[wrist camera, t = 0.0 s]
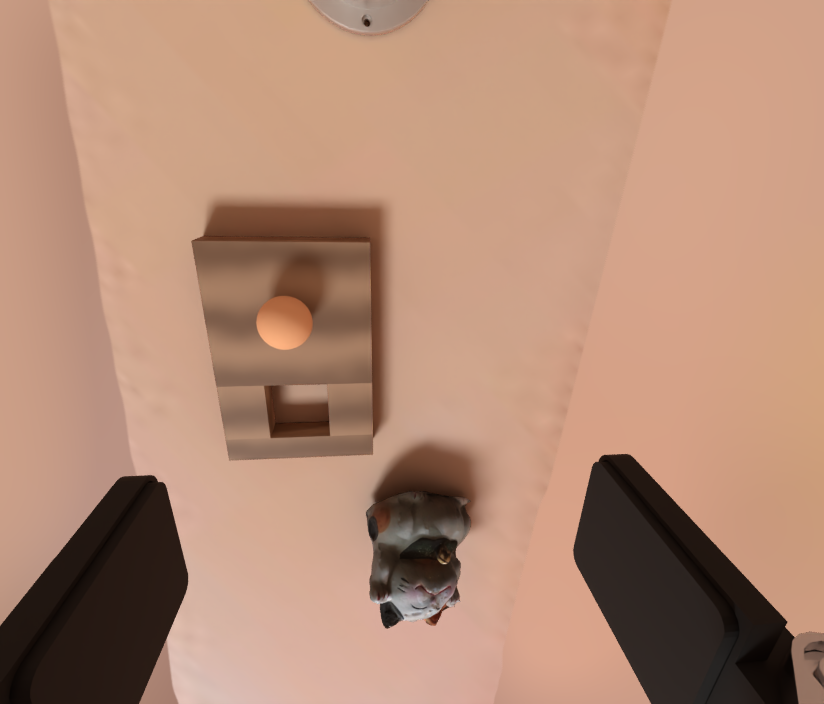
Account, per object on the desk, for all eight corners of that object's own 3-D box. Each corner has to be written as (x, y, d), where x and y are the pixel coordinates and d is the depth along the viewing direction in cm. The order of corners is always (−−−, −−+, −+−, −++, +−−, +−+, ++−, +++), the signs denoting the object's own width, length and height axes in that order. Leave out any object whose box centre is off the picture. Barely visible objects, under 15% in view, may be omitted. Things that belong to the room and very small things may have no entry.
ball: (260, 289, 41) (246, 304, 36) (313, 289, 41) (307, 304, 37) (265, 338, 43) (254, 358, 38) (316, 338, 43) (311, 357, 39)
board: (202, 236, 41) (191, 240, 38) (369, 237, 43) (370, 242, 40) (236, 444, 50) (229, 460, 48) (372, 439, 52) (372, 454, 49)
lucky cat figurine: (488, 502, 58) (506, 623, 49) (424, 523, 64) (431, 634, 56) (408, 475, 49) (413, 616, 41) (344, 503, 56) (337, 629, 47)
